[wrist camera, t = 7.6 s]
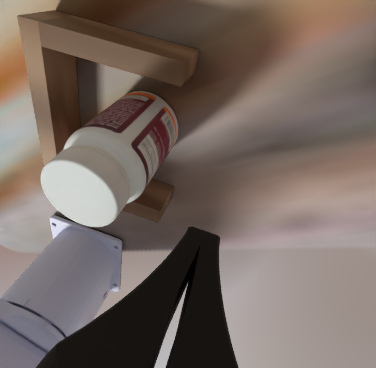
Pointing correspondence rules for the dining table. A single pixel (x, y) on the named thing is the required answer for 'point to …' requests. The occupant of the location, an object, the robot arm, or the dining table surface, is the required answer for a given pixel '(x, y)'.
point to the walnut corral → (68, 87)
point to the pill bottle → (110, 159)
